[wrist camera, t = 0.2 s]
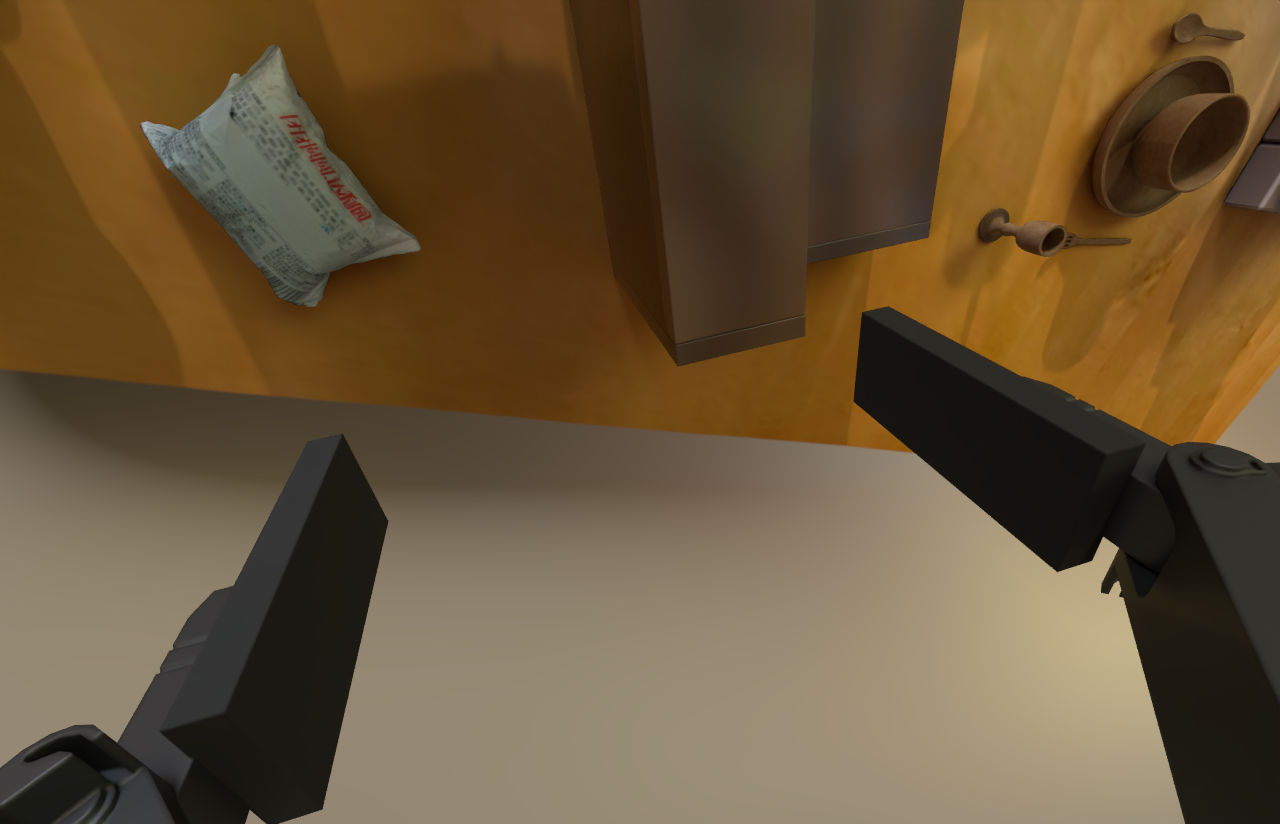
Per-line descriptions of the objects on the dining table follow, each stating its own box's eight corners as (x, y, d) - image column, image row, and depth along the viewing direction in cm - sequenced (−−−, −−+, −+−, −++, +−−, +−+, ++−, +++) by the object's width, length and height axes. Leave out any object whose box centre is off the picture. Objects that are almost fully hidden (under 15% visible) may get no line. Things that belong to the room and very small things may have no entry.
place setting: (1143, 247, 52) (1212, 263, 47) (971, 248, 47) (1027, 266, 42) (1256, 24, 43) (1356, 15, 38) (1059, -2, 38) (1144, -16, 33)
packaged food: (292, 48, 30) (259, 41, 26) (425, 242, 36) (417, 262, 32) (157, 124, 30) (104, 129, 26) (314, 303, 37) (291, 330, 32)
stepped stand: (929, -295, 29) (1307, -627, 16) (877, 221, 44) (1051, 277, 30) (526, -267, 26) (568, -647, 13) (614, 276, 41) (677, 366, 27)
